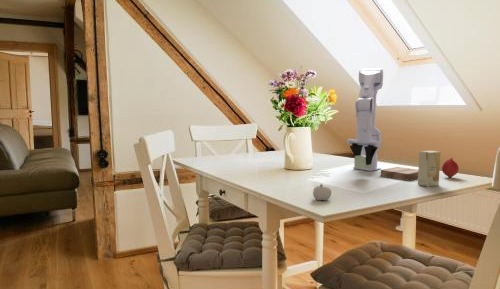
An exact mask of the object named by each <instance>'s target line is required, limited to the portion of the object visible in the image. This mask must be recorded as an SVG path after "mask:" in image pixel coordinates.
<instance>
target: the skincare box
mask: <svg viewBox="0 0 500 289" xmlns="http://www.w3.org/2000/svg"><path fill="white" fill-rule="evenodd" d="M418 153H419V154H418V169H417V170H418V178H417V185H419V186H423V187H427V188H429V187H435V186H439V185H440V184H439V183H440V168H441V166H440V165H441V154H442V153H441V151H438V150H421V151H419V152H418Z"/></svg>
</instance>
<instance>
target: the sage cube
mask: <svg viewBox="0 0 500 289" xmlns="http://www.w3.org/2000/svg"><path fill="white" fill-rule="evenodd" d="M354 160H355V167H357V168H363V169H365V168H371V164H372V162H371V164H370V165H366V155H358V156H355V158H354Z"/></svg>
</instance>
